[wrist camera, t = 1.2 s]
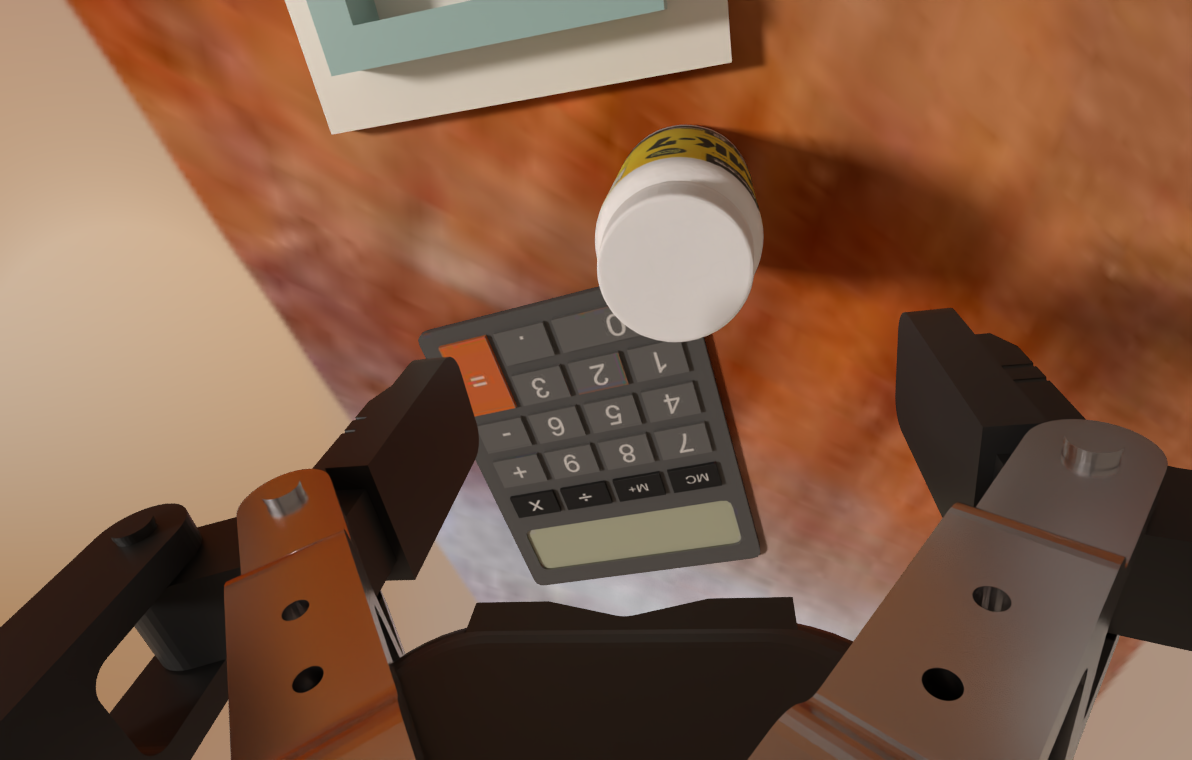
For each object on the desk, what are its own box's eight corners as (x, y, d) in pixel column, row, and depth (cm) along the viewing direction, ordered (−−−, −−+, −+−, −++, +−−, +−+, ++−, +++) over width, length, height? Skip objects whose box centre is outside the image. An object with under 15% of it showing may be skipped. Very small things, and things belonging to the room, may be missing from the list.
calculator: (684, 269, 25) (762, 560, 31) (684, 261, 25) (760, 545, 32) (413, 338, 28) (536, 589, 34) (421, 328, 29) (540, 575, 35)
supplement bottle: (773, 149, 23) (807, 219, 15) (719, 271, 25) (727, 381, 18) (642, 101, 22) (614, 150, 15) (600, 229, 25) (559, 323, 18)
